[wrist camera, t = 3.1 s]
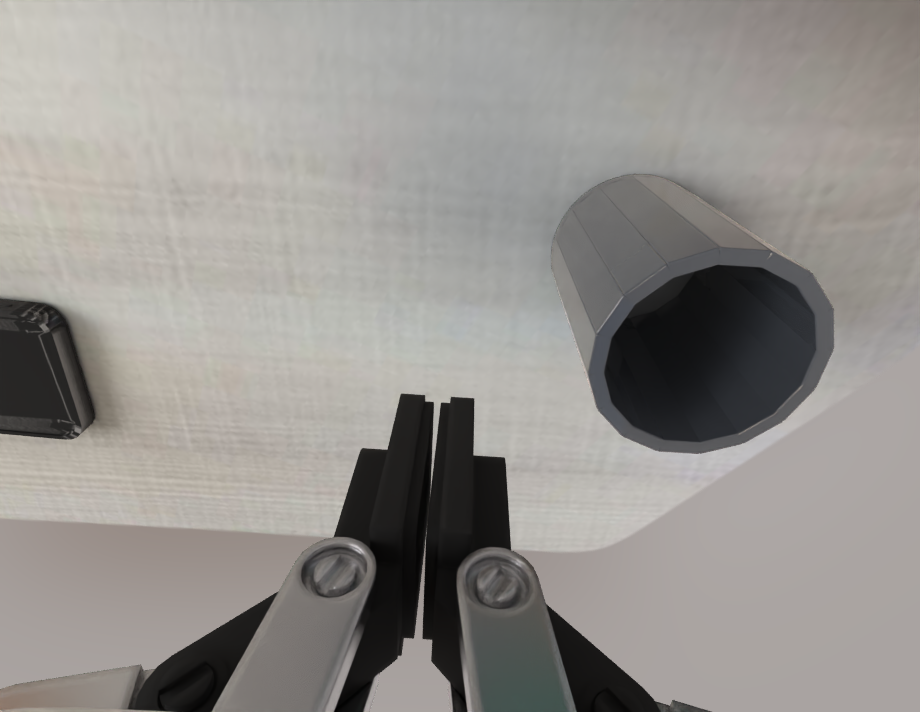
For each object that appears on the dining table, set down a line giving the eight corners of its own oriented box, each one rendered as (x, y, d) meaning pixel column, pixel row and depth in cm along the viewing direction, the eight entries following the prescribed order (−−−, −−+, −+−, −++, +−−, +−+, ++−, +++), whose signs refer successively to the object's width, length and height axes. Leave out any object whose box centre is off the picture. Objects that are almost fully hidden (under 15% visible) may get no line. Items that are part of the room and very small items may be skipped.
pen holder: (541, 316, 26) (573, 447, 18) (563, 168, 23) (615, 240, 14) (682, 325, 26) (783, 460, 18) (726, 179, 23) (877, 257, 14)
